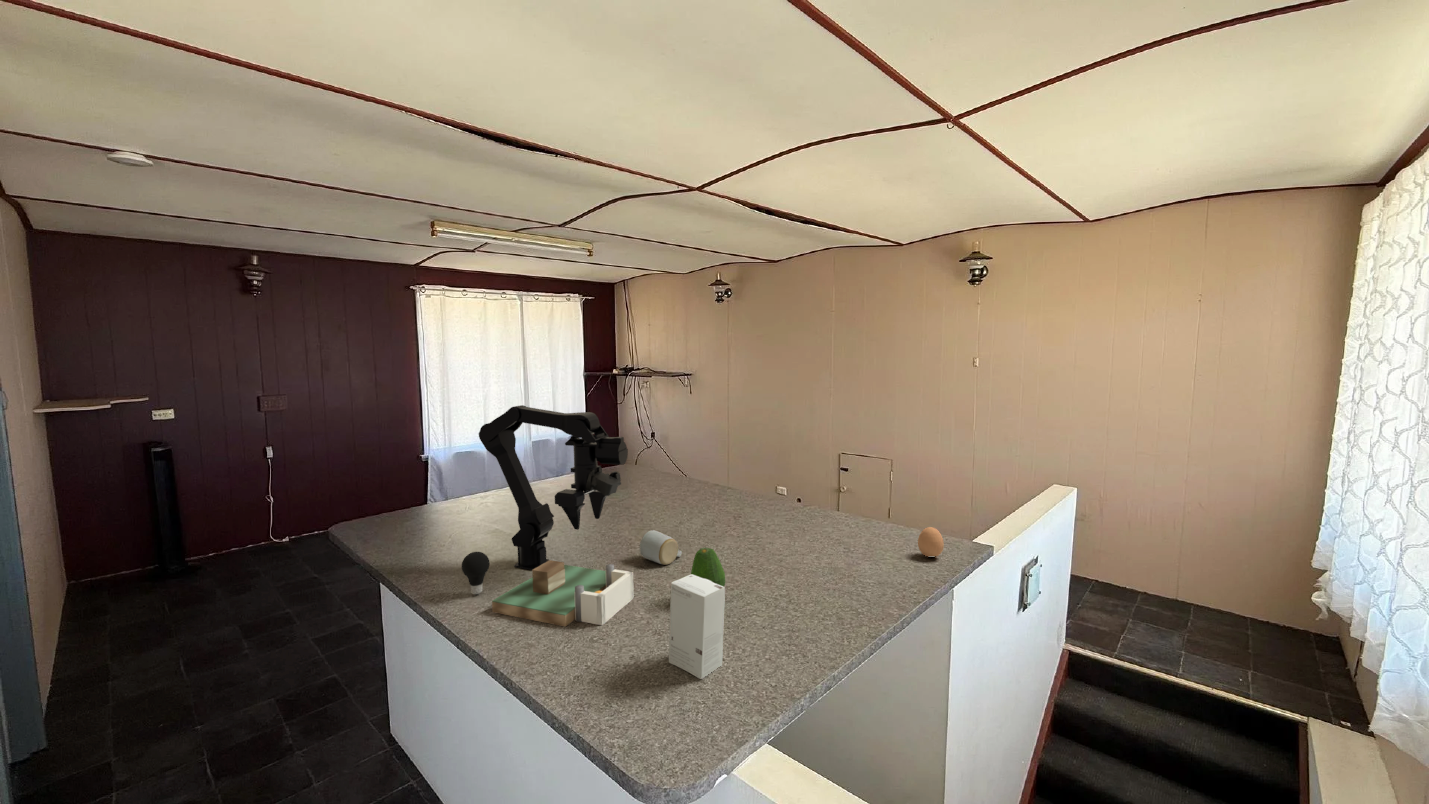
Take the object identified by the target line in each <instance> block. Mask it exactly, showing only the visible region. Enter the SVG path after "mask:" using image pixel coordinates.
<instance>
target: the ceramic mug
mask: <svg viewBox="0 0 1429 804" xmlns="http://www.w3.org/2000/svg"><path fill="white" fill-rule="evenodd" d="M639 552H640V555H641V556H642V557H643V558H644V559H646V560H649V561H651V562H653V563H656V564H659V565H665V566H667V565H670V564H672V563H673V562H674V561H675V560H676V559H677V558H681V556H682V554H683V552H682V550H680V549H679V543H678V541H676V539H674V538H673V537H671V536H670V535H669V536H668V535H667V534H665V533H662V532H660V531H658V530H654V529H652V530H649V531H647V532H645V534H644V535H643V536H642V538H641V540H640V543H639Z"/></svg>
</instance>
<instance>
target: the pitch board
mask: <svg viewBox="0 0 1429 804" xmlns="http://www.w3.org/2000/svg"><path fill="white" fill-rule="evenodd" d="M564 569H565V584H564V585H562V586H560V587H559V588H557V589H556V590H554V591H553V592H551V593H550V594H542V593H537V592H533V576H532V577H531V578H529V579H527V580H525V581H524V582H522V583H519V584H518V585H516V586H515V587H513V588H511V589H509V590H508V591H506V592H505V593H503V594H502V595H500V596H498V597H496V598H495V599H493V600H491V605H492V613H496V614H499V615H501V614H502V615H505V616H511V617H515V618H521V619H525V620H526V619H527V620H531V621H536V622H540V623H541V622H542V623H545V624H551V625H555V626H561V627H567V626H569V625H570V624H571V623H572V622H574V621H576V620H575V593H574V592H575V586H577V585H583V586H584V591H588V592H596V591H603V590H605V589H606V570H601V569H594V568H588V567H582V566H576V565H569V564H564Z"/></svg>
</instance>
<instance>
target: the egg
mask: <svg viewBox="0 0 1429 804" xmlns="http://www.w3.org/2000/svg"><path fill="white" fill-rule="evenodd" d="M944 543H945V542H944V538H943V536H942V534H941V533H940V531H939V530H938V529H937V528H936V527H932V526H928V527H926V528H923V530H922V531H921V532H920V533H919V535H918V538H917V547H918V549H919V551H920V553H921V554H922V555H923V556H924V555H925V556H924V557H926V556H937V557H938V556H940V555H941V554H942V552H943V551H944V546H945V544H944Z"/></svg>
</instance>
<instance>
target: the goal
mask: <svg viewBox="0 0 1429 804" xmlns="http://www.w3.org/2000/svg"><path fill="white" fill-rule="evenodd" d="M605 571H606V589H605V590H603V591H602V592H601V593H600V594H599V593H594V592H588V591H584V586H583V585H577V586H575V592H574V593H575V620H574V621H576V622H578V623H579V622H582V623H589V624H593V625H600V626H604V624H606V623H607V622H608V621H609V620H610V619H612V618H613V617H614V616H615V615H616V614H617V613H618V612H620V611H621V610H622V609H623V608H624V607H626V605H628V604H629V602H630V603H631V601H632V600H633V599H634V595H635V594H634V591H635V590H634V585H635V584H634V572H633V571H629V570H623V569H616V568H615V564H614V563H609V564H606V565H605Z"/></svg>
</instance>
